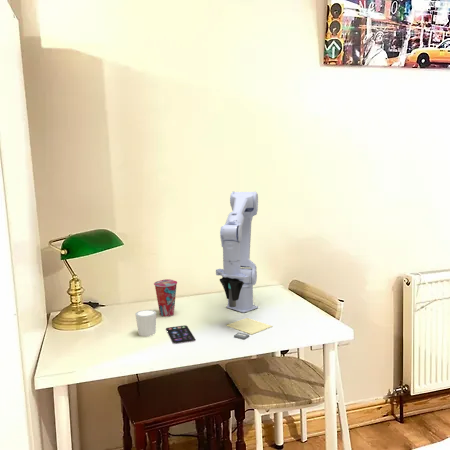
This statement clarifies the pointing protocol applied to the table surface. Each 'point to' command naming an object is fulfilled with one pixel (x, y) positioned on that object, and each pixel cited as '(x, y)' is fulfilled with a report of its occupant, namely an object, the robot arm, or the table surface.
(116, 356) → the table surface
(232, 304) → the marker
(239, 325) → the note pad
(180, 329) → the smartphone
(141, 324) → the white short cylinder
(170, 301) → the cup
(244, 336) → the word tile
